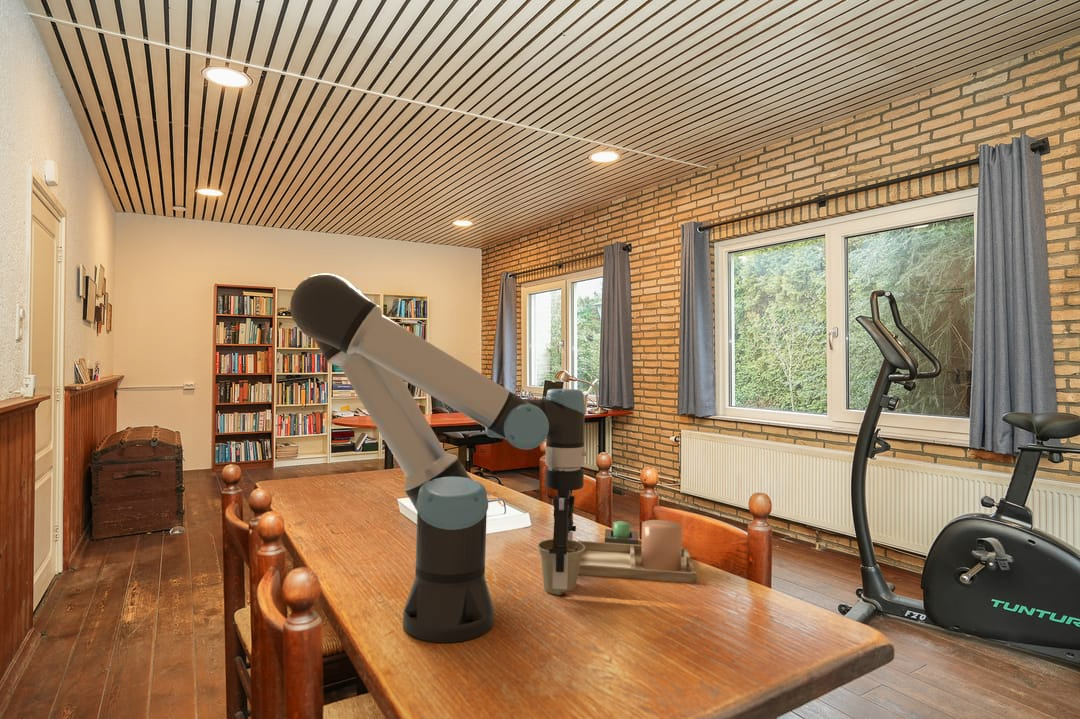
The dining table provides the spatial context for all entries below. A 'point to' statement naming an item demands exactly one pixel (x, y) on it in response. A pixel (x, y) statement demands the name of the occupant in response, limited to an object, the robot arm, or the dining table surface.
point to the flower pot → (574, 559)
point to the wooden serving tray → (629, 563)
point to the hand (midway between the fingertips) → (562, 576)
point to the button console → (621, 538)
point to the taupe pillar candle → (661, 545)
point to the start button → (621, 529)
